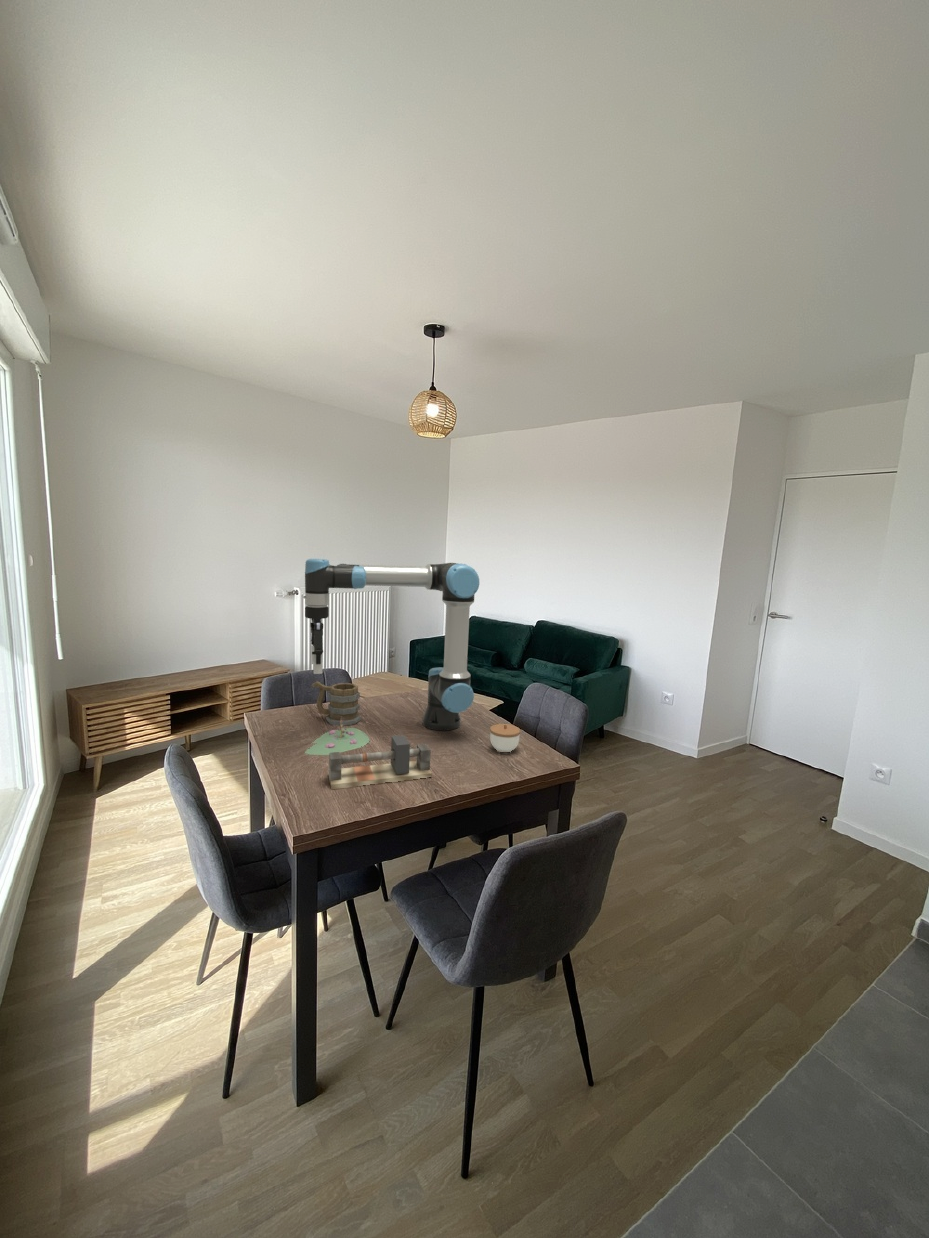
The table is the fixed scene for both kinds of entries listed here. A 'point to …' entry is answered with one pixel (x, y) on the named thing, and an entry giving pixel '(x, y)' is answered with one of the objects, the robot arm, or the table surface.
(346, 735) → the plant
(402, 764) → the collar
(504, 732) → the lidded jar
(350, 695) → the tankard
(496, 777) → the table surface
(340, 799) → the table surface
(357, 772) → the grey sliding block rail
